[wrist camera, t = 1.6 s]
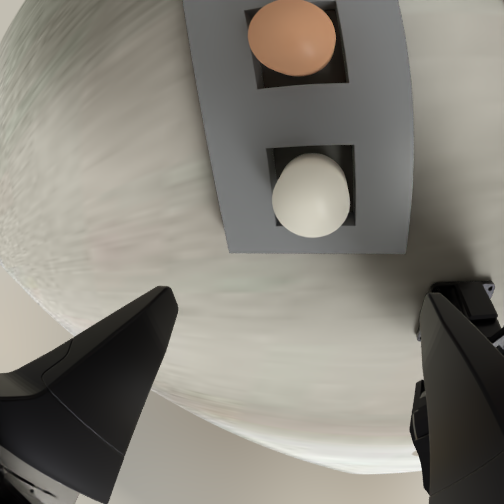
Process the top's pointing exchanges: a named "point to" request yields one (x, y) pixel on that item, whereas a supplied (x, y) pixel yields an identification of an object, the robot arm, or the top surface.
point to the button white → (311, 196)
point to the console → (307, 125)
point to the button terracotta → (292, 37)
